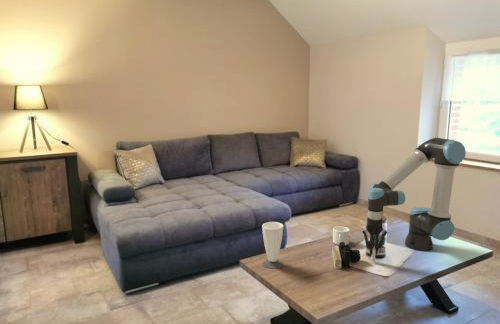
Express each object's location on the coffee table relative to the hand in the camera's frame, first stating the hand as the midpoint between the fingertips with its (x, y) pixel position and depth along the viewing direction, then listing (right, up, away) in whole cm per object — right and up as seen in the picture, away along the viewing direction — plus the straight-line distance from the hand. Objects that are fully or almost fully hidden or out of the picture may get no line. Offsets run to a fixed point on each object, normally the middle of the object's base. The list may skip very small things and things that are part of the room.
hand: (373, 259), depth 199 cm
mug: (-11, +3, +25) cm, 28 cm away
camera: (-12, -2, +1) cm, 13 cm away
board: (-19, -1, +3) cm, 19 cm away
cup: (-54, -2, 0) cm, 54 cm away
